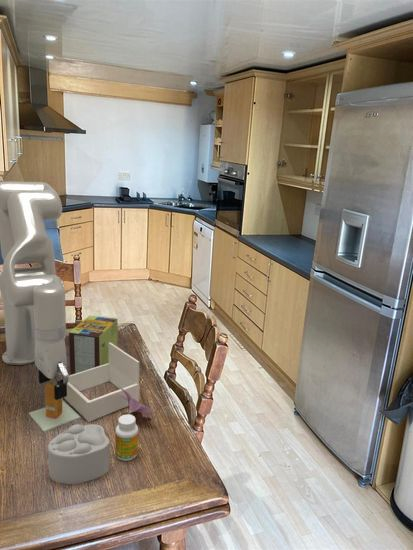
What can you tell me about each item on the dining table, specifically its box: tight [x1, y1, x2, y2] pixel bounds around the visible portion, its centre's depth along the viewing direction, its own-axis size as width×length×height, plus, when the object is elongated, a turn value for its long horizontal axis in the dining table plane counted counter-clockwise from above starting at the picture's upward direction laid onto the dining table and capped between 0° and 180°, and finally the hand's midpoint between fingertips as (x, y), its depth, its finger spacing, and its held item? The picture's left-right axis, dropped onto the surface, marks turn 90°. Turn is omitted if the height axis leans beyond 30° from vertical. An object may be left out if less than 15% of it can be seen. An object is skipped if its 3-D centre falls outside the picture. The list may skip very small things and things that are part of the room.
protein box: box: [68, 315, 119, 376], centre depth 142 cm, size 10×15×16 cm
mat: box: [28, 400, 81, 433], centre depth 117 cm, size 10×10×1 cm
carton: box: [60, 343, 141, 423], centre depth 125 cm, size 16×16×13 cm
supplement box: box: [45, 378, 63, 419], centre depth 116 cm, size 3×3×10 cm
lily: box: [118, 387, 156, 419], centre depth 117 cm, size 12×12×10 cm
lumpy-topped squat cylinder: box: [47, 423, 111, 485], centre depth 98 cm, size 10×13×9 cm
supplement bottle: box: [114, 413, 139, 462], centre depth 103 cm, size 5×5×10 cm
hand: (52, 389), depth 116 cm, fingers open, 9 cm apart
